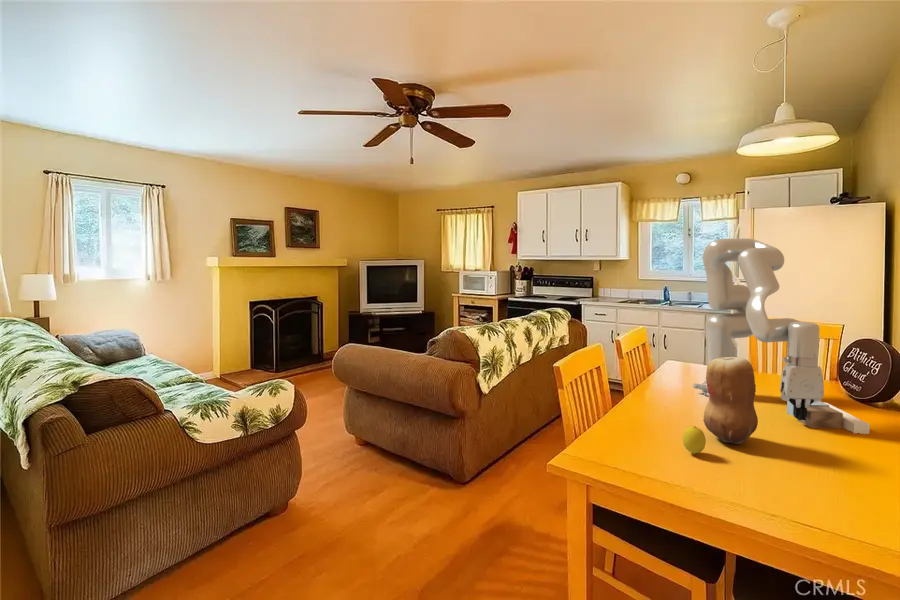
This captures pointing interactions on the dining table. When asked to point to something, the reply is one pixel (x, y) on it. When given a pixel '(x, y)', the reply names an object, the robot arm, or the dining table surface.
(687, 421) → the dining table surface
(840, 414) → the walnut block
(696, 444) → the lemon
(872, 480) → the dining table surface
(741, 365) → the butternut squash
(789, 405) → the slate block
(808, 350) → the robot arm
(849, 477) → the dining table surface
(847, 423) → the stop rail
